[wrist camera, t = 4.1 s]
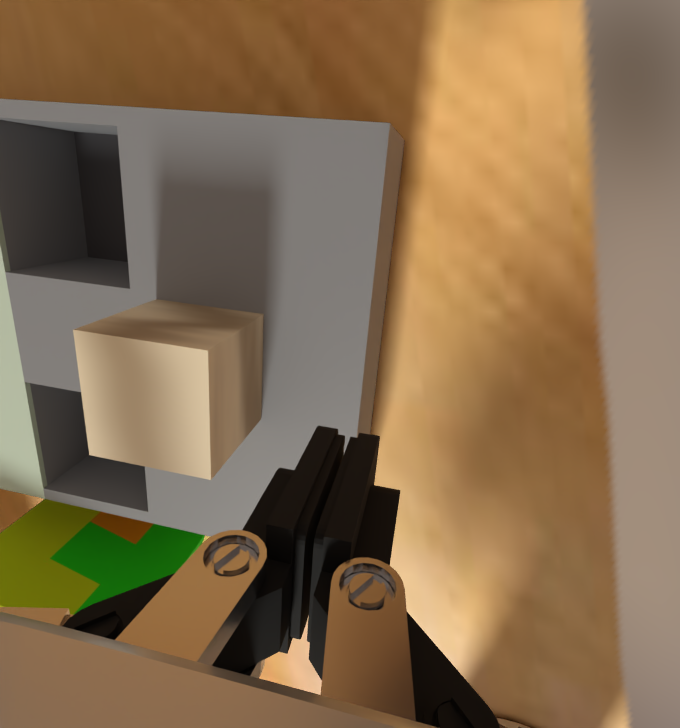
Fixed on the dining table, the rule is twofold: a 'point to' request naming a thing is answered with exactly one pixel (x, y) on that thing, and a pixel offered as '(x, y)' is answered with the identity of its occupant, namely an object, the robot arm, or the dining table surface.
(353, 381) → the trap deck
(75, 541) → the puzzle toy
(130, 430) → the birch block
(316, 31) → the dining table surface
